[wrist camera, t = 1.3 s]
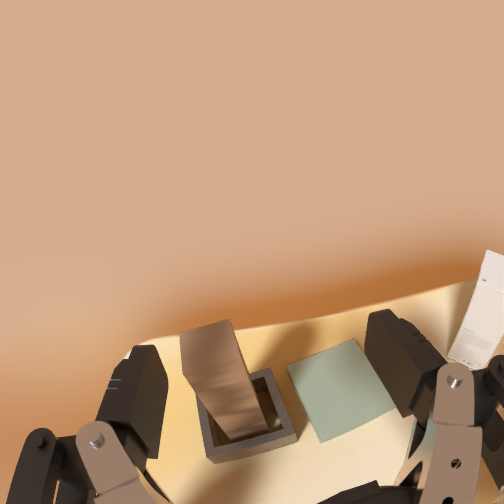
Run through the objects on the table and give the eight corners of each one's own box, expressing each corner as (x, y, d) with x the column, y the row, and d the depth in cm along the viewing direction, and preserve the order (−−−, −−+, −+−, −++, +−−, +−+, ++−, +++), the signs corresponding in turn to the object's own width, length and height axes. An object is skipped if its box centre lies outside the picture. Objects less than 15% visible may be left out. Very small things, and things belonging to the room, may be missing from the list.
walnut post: (259, 401, 31) (229, 318, 23) (269, 431, 27) (240, 357, 19) (224, 411, 30) (179, 332, 22) (231, 441, 26) (182, 373, 19)
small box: (480, 374, 24) (521, 300, 17) (445, 357, 28) (475, 281, 22) (494, 334, 28) (524, 262, 21) (462, 320, 32) (485, 247, 26)
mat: (353, 341, 36) (353, 338, 35) (397, 405, 25) (398, 403, 25) (286, 367, 34) (285, 365, 34) (320, 443, 24) (320, 441, 24)
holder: (272, 380, 33) (269, 367, 31) (297, 441, 25) (295, 433, 23) (202, 400, 32) (194, 388, 30) (215, 464, 24) (206, 457, 22)
